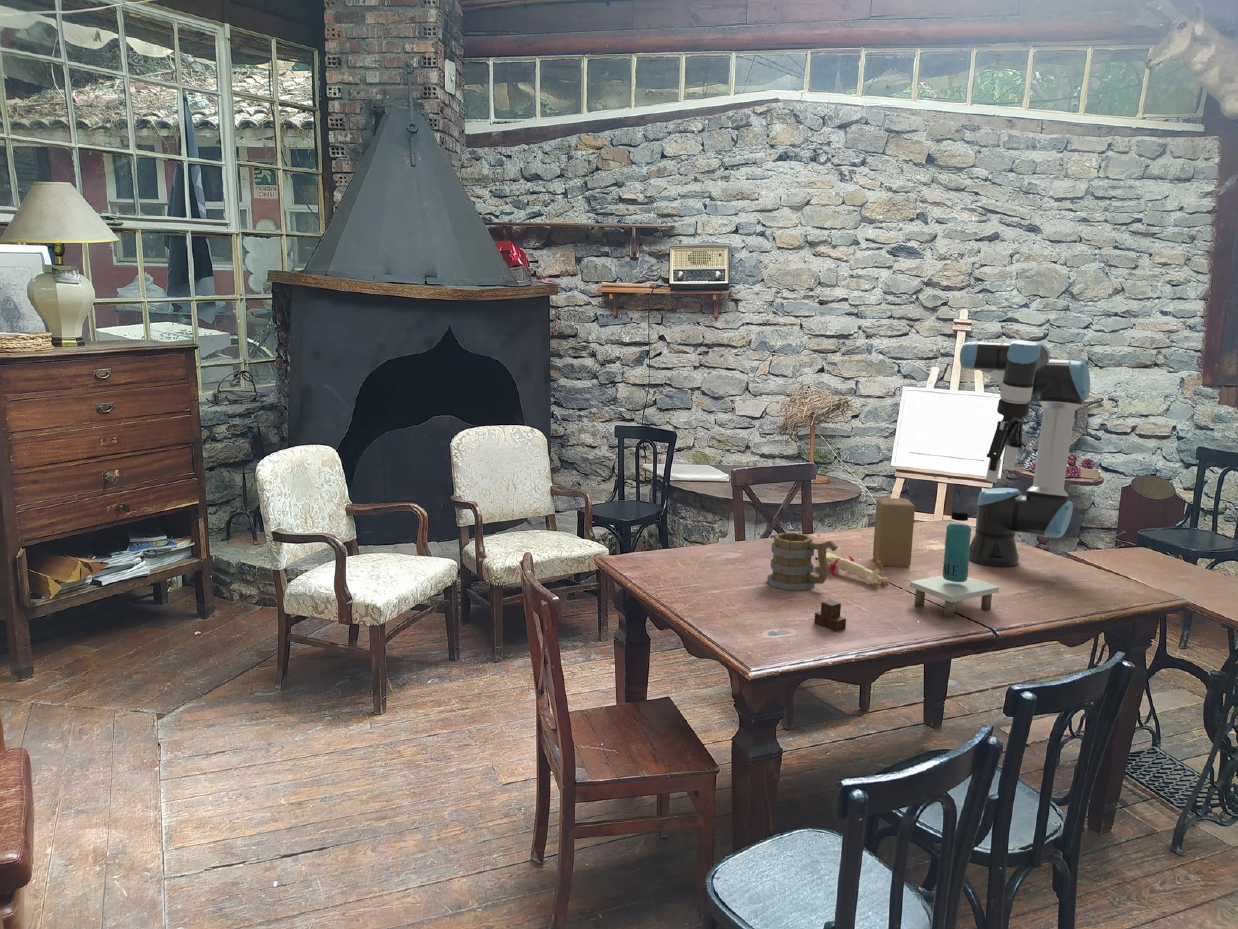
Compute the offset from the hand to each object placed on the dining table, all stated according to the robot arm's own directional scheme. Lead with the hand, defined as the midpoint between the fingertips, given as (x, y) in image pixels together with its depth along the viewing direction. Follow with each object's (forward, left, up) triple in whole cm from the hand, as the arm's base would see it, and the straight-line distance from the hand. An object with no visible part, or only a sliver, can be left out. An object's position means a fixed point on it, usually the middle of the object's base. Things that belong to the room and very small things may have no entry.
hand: (999, 475), depth 240 cm
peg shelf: (+17, +2, -34) cm, 38 cm away
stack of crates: (+55, -2, -35) cm, 65 cm away
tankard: (+42, -30, -35) cm, 62 cm away
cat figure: (+23, -32, -35) cm, 52 cm away
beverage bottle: (+17, +2, -28) cm, 33 cm away
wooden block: (+1, -36, -35) cm, 50 cm away
